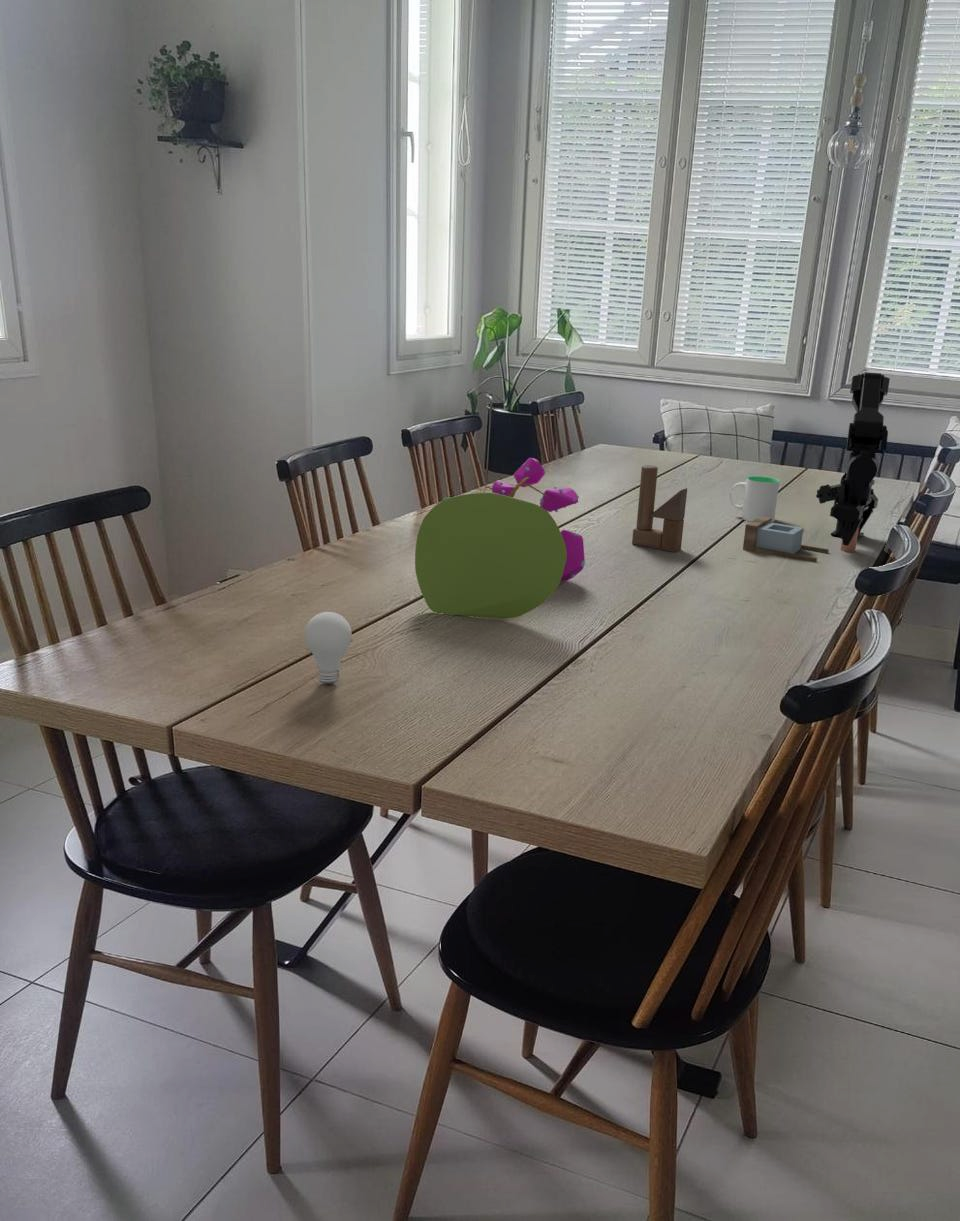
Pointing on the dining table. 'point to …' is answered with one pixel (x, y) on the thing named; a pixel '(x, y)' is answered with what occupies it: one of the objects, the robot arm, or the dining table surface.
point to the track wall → (750, 545)
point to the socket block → (779, 537)
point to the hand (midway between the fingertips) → (849, 542)
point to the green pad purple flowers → (496, 550)
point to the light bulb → (328, 643)
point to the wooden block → (658, 515)
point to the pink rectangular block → (850, 544)
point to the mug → (758, 497)
